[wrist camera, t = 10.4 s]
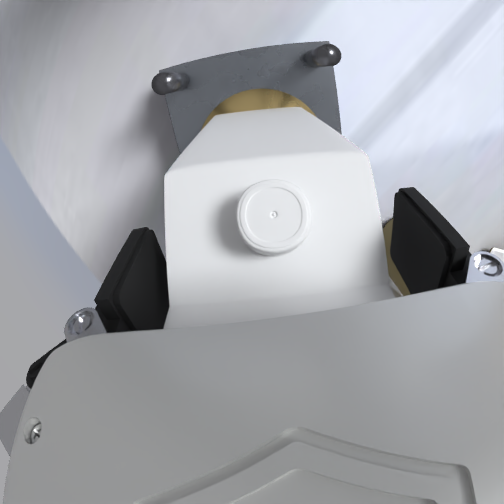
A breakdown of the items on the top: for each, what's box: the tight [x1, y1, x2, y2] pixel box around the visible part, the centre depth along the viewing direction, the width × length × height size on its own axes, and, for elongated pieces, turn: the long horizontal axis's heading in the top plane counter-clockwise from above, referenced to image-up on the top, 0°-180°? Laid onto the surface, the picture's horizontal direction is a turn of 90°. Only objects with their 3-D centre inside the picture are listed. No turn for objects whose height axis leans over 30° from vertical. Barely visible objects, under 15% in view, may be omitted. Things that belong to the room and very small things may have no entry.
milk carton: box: [163, 107, 396, 329], centre depth 16 cm, size 7×7×19 cm
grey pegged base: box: [152, 41, 342, 155], centre depth 24 cm, size 18×14×9 cm
